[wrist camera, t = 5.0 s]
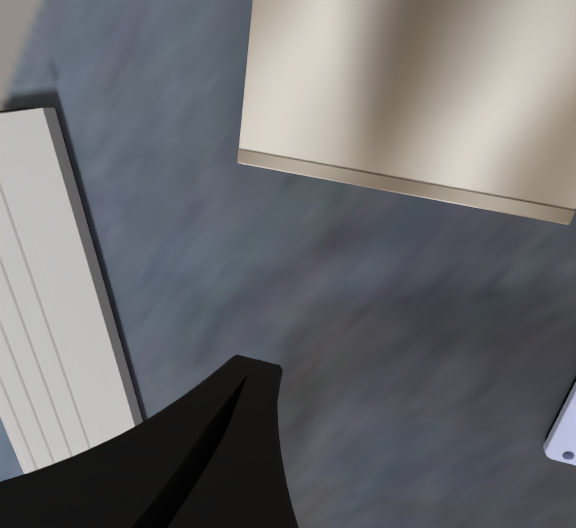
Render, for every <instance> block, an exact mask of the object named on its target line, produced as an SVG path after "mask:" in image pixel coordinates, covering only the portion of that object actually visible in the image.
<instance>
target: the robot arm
mask: <svg viewBox="0 0 576 528" xmlns="http://www.w3.org/2000/svg"><path fill="white" fill-rule="evenodd" d="M282 371H283V370H282V368H281V367H280V365H276V364H272V363H268V362H264V361H260V360H256V359H252V358H248V357H244V356H240V355H235V356H233V357H232V358H231V359H229V360H228V361H227V362H226V363H225V364H223V365H222V366H221V367H220V368H219V369H217V370H216V371H215V372H214V373H213V374H211V375H210V376H209V377H208V378H206V379H205V380H204V381H202V382H201V383H200V384H198V385H197V386H196V387H194V388H193V389H192V390H190V391H189V392H188V393H186V394H185V395H184V396H182V397H181V398H179V399H178V400H176V401H175V402H173V403H172V404H170V405H169V406H167V407H166V408H164V409H163V410H161V411H160V412H158V413H157V414H155V415H153V416H152V417H150V418H148V419H147V420H145V421H143V422H142V423H140V424H138V425H136V426H135V427H133V428H131V429H129V430H127V431H125V432H124V433H122V434H120V435H118V436H116V437H114V438H112V439H110V440H108V441H106V442H103V443H101V444H99V445H97V446H95V447H92V448H90V449H88V450H86V451H84V452H82V453H79V454H77V455H75V456H72V457H70V458H67V459H64V460H62V461H59V462H57V463H54V464H52V465H49V466H46V467H43V468H41V469H38V470H35V471H32V472H29V473H26V474H24V475H21V476H18V477H14V478H11V479H8V480H4V481H1V482H0V528H298V525H297V521H296V518H295V514H294V511H293V508H292V504H291V500H290V496H289V491H288V487H287V483H286V478H285V473H284V468H283V462H282V456H281V449H280V440H279V430H278V412H277V400H278V394H279V388H280V383H281V377H282ZM543 448H544V451H545V453H546V455H547V456H548V457H549V458H551V459H553V460H557V461H561V462H565V463H569V464H572V465H576V382H575V384H574V386H573V388H572V390H571V392H570V394H569V396H568V398H567V400H566V402H565V404H564V406H563V408H562V410H561V412H560V414H559V416H558V418H557V420H556V422H555V424H554V426H553V428H552V430H551V432H550V434H549V436H548V438H547V440H546V442H545V444H544V447H543ZM566 451H570V452H569V453H564V452H566Z"/></svg>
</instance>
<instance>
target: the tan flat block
mask: <svg viewBox="0 0 576 528" xmlns="http://www.w3.org/2000/svg"><path fill="white" fill-rule="evenodd" d="M237 162H238V163H241V164H246V165H252V166H257V167H262V168H268V169H273V170H278V171H284V172H289V173H294V174H300V175H305V176H310V177H316V178H321V179H327V180H332V181H337V182H343V183H348V184H353V185H359V186H364V187H369V188H375V189H380V190H385V191H391V192H396V193H401V194H407V195H412V196H417V197H423V198H428V199H433V200H439V201H444V202H449V203H455V204H460V205H465V206H471V207H476V208H481V209H487V210H492V211H498V212H503V213H508V214H514V215H519V216H524V217H530V218H535V219H540V220H546V221H551V222H556V223H562V224H567V225H568V224H570V222H571V220H572V217H573V215H574V213H575V208H576V0H253V5H252V16H251V27H250V37H249V48H248V59H247V69H246V80H245V91H244V101H243V112H242V123H241V133H240V144H239V150H238V160H237Z"/></svg>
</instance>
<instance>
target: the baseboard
mask: <svg viewBox="0 0 576 528" xmlns="http://www.w3.org/2000/svg"><path fill="white" fill-rule="evenodd" d="M21 109H30V107H25V108H18V109H12V110H5V111H0V112H6V111H14V110H21ZM0 417H1V420H2V422H3V424H4V427H5V429H6V431H7V434H8V436H9V439H10V441H11V443H12V446H13V448H14V451H15V453H16V455H17V458H18V460H19V462H20V465H21V467H22V470H23V472H24V474H26V473H29V472H32V471H35V470H38V469H41V468H43V467H46V466H49V465H52V464H54V463H57V462H59V461H62V460H64V459H67V458H70V457H72V456H75V455H77V454H79V453H82V452H84V451H86V450H88V449H90V448H92V447H95V446H97V445H99V444H101V443H103V442H106V441H108V440H110V439H112V438H114V437H116V436H118V435H120V434H122V433H124V432H125V431H127V430H129V429H131V428H133V427H135V426H136V425H138V424H140V423H142V422H143V420H142V417H141V413H140V410H139V406H138V402H137V399H136V395H135V392H134V388H133V385H132V381H131V377H130V374H129V370H128V367H127V363H126V360H125V356H124V353H123V349H122V345H121V342H120V338H119V335H118V331H117V328H116V324H115V320H114V317H113V313H112V310H111V306H110V303H109V299H108V296H107V292H106V288H105V285H104V281H103V278H102V274H101V271H100V267H99V264H98V260H97V256H96V253H95V249H94V246H93V242H92V239H91V235H90V231H89V228H88V224H87V221H86V217H85V214H84V210H83V207H82V203H81V199H80V196H79V192H78V189H77V185H76V182H75V178H74V174H73V171H72V167H71V164H70V160H69V157H68V153H67V150H66V146H65V142H64V139H63V135H62V132H61V128H60V125H59V121H58V118H57V114H56V110H55V108H38V109H31V110H23V111H16V112H9V113H2V114H0Z"/></svg>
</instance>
